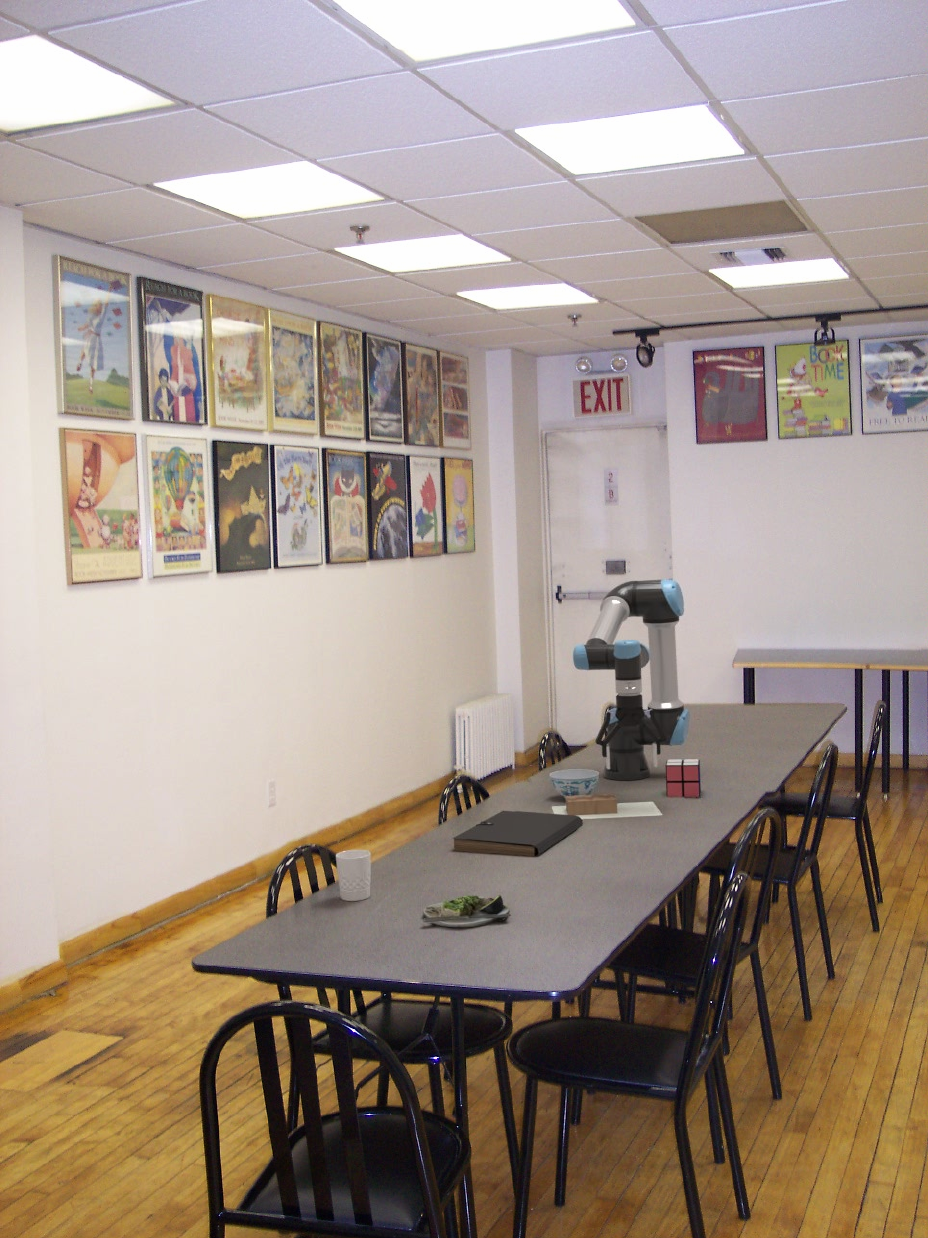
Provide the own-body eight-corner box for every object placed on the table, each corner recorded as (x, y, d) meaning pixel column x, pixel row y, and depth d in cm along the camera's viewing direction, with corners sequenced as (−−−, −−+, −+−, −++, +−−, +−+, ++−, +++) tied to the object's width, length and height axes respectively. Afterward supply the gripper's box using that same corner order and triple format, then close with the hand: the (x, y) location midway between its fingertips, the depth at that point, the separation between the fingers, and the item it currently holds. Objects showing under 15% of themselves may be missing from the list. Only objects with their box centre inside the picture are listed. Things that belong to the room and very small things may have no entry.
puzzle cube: (700, 798, 367) (699, 765, 366) (666, 798, 369) (665, 765, 368) (700, 791, 377) (699, 759, 376) (667, 791, 379) (666, 759, 378)
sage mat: (551, 807, 363) (551, 806, 363) (652, 803, 363) (652, 801, 363) (556, 821, 345) (556, 820, 345) (662, 816, 345) (662, 815, 345)
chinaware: (609, 796, 374) (608, 771, 374) (579, 806, 363) (578, 780, 363) (571, 791, 385) (569, 767, 384) (540, 800, 374) (539, 775, 373)
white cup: (338, 893, 284) (336, 851, 283) (372, 891, 285) (370, 848, 284) (337, 903, 276) (335, 859, 275) (372, 901, 277) (370, 857, 276)
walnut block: (614, 807, 358) (566, 809, 358) (613, 793, 358) (565, 796, 358) (617, 813, 350) (568, 815, 350) (616, 799, 350) (567, 801, 350)
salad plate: (440, 939, 249) (439, 917, 249) (403, 917, 265) (402, 896, 264) (522, 921, 258) (521, 900, 257) (481, 901, 274) (480, 880, 273)
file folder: (502, 809, 348) (582, 815, 338) (502, 823, 348) (583, 829, 338) (451, 837, 318) (538, 844, 308) (452, 852, 318) (538, 860, 308)
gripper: (586, 697, 348) (589, 771, 349) (674, 693, 348) (677, 767, 349) (584, 694, 356) (587, 766, 357) (670, 690, 356) (672, 762, 357)
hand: (631, 767), depth 353 cm, fingers open, 13 cm apart
